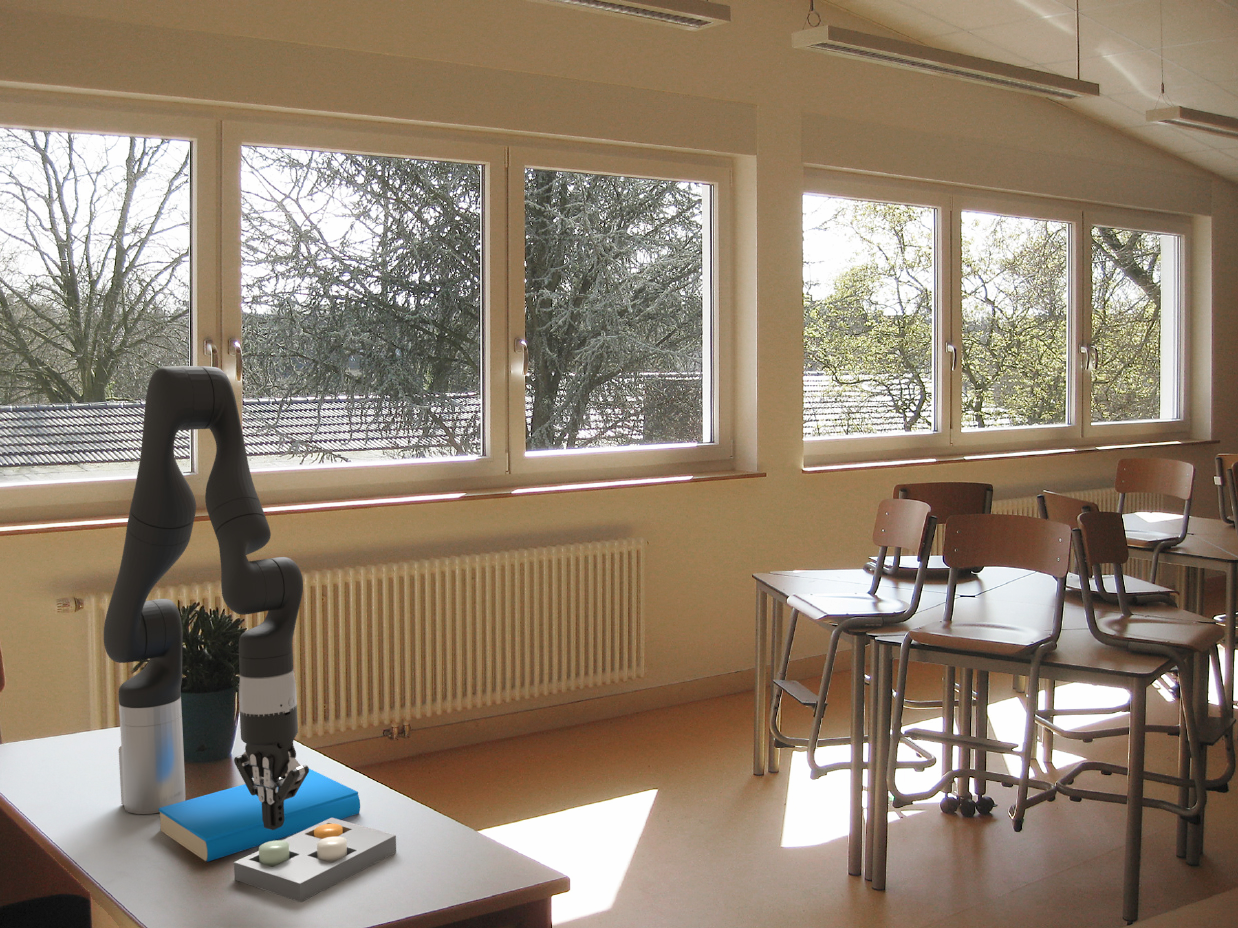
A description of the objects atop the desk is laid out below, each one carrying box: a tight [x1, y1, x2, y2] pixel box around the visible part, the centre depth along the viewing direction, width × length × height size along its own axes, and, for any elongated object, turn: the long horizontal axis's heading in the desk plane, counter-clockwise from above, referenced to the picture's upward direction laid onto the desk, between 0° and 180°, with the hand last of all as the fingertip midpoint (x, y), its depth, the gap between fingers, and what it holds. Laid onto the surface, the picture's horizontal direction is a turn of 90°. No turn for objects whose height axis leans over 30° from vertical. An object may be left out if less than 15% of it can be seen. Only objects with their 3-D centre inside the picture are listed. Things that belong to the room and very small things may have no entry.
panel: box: [233, 818, 397, 902], centre depth 160 cm, size 13×18×2 cm
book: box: [159, 768, 361, 863], centre depth 176 cm, size 17×4×25 cm
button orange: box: [314, 824, 343, 839], centre depth 166 cm, size 4×4×2 cm
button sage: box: [258, 839, 290, 867], centre depth 157 cm, size 4×4×2 cm
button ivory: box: [317, 837, 347, 863], centre depth 158 cm, size 4×4×2 cm
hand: (273, 827), depth 157 cm, fingers closed
